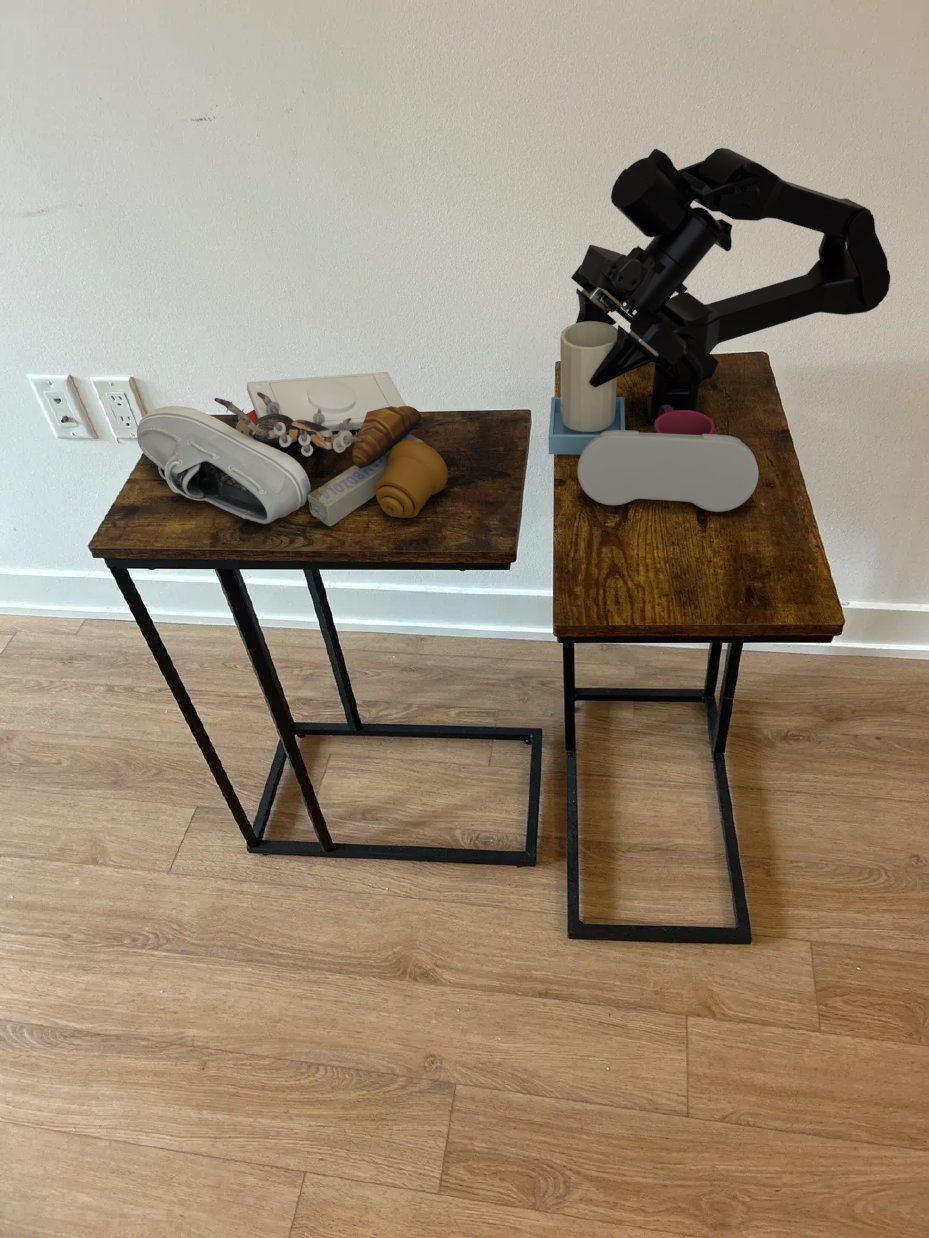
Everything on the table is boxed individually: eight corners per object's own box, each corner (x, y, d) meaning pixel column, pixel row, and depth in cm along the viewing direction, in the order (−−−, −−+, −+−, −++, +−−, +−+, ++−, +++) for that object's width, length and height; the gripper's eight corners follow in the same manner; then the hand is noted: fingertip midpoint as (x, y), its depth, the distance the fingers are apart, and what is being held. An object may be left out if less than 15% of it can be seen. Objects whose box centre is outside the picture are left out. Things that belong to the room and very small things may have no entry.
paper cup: (605, 399, 113) (608, 317, 105) (622, 426, 108) (627, 342, 100) (554, 408, 112) (554, 326, 104) (569, 436, 107) (570, 352, 100)
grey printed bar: (296, 489, 101) (325, 507, 99) (395, 424, 109) (424, 440, 107) (300, 512, 104) (329, 531, 101) (397, 448, 112) (426, 464, 109)
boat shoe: (156, 445, 113) (105, 474, 107) (150, 383, 107) (96, 410, 101) (313, 527, 107) (268, 563, 101) (317, 467, 101) (269, 501, 95)
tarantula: (394, 426, 110) (386, 465, 112) (266, 388, 112) (260, 426, 114) (351, 441, 95) (341, 485, 97) (203, 396, 97) (197, 440, 99)
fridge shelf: (551, 414, 115) (551, 397, 114) (622, 414, 114) (624, 396, 113) (548, 454, 109) (548, 436, 107) (624, 455, 108) (625, 436, 106)
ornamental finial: (384, 435, 102) (436, 436, 98) (410, 483, 107) (460, 486, 103) (349, 483, 98) (402, 486, 94) (378, 530, 104) (429, 535, 99)
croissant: (405, 435, 111) (379, 404, 110) (439, 408, 106) (412, 375, 105) (347, 485, 101) (319, 451, 100) (382, 458, 97) (352, 421, 95)
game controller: (751, 508, 99) (762, 434, 95) (753, 514, 97) (764, 440, 93) (577, 497, 102) (580, 426, 99) (575, 503, 100) (579, 431, 97)
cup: (656, 495, 102) (662, 444, 97) (637, 447, 109) (641, 398, 104) (714, 489, 102) (722, 438, 97) (691, 441, 109) (698, 392, 104)
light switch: (246, 375, 114) (388, 365, 121) (246, 388, 115) (387, 378, 122) (265, 424, 108) (414, 410, 115) (265, 438, 109) (412, 423, 116)
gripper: (587, 191, 101) (502, 305, 106) (670, 248, 88) (568, 374, 94) (644, 246, 108) (562, 350, 113) (729, 306, 95) (631, 420, 101)
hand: (578, 371), depth 105 cm, fingers closed on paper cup, 7 cm apart
